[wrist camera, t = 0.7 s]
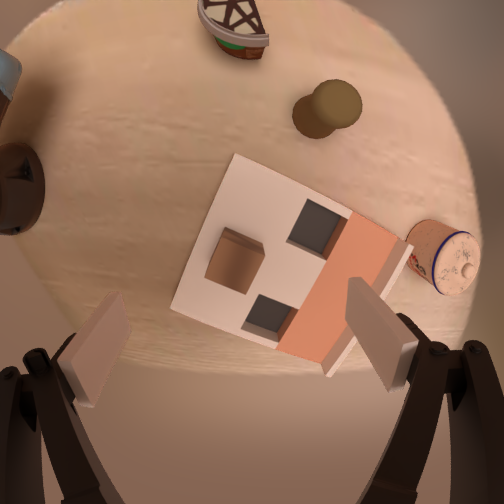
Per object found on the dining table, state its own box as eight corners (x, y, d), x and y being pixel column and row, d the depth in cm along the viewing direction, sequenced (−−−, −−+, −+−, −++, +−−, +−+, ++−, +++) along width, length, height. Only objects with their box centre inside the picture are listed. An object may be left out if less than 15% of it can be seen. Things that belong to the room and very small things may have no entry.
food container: (197, 8, 29) (185, -29, 19) (241, -2, 28) (240, -41, 19) (216, 78, 32) (207, 51, 23) (263, 68, 32) (270, 38, 22)
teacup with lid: (391, 255, 40) (433, 286, 29) (423, 206, 38) (472, 223, 27) (434, 290, 42) (473, 322, 31) (462, 246, 40) (506, 270, 29)
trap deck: (174, 298, 41) (164, 319, 35) (235, 153, 35) (234, 152, 30) (321, 354, 45) (330, 377, 39) (393, 235, 39) (414, 246, 33)
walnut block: (209, 262, 36) (204, 277, 32) (224, 226, 35) (221, 237, 30) (245, 277, 37) (245, 295, 32) (262, 243, 36) (265, 256, 31)
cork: (331, 145, 35) (363, 140, 25) (286, 130, 35) (304, 118, 24) (341, 104, 33) (376, 85, 23) (298, 89, 33) (319, 63, 22)
